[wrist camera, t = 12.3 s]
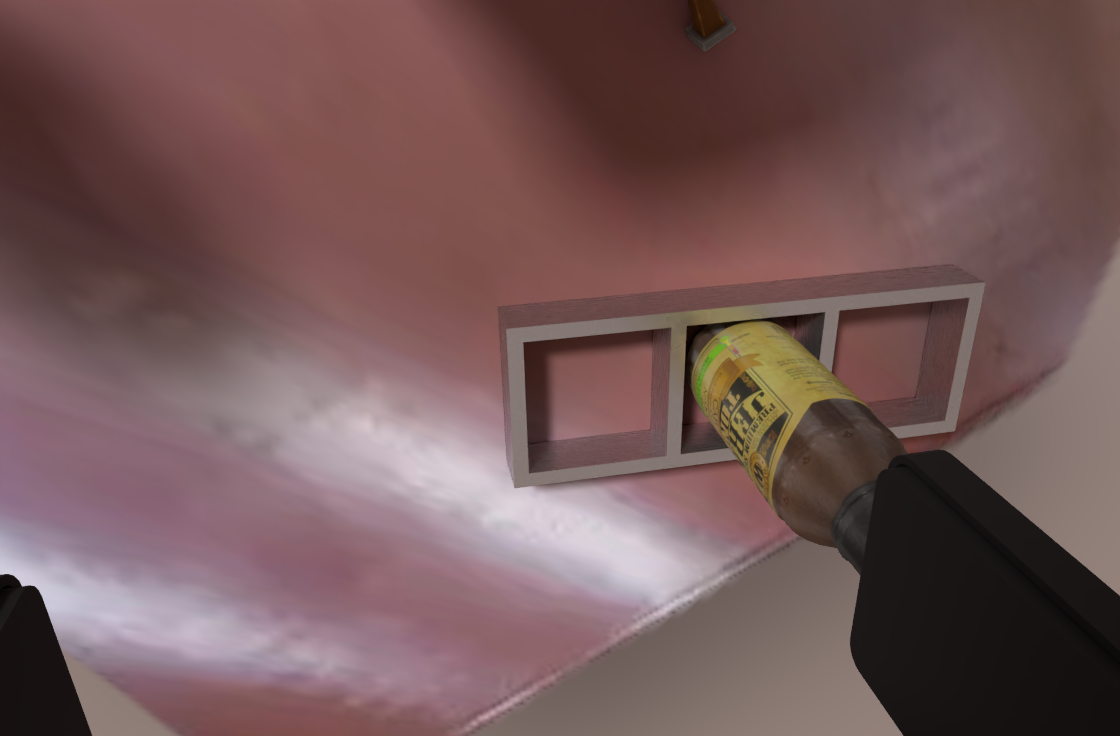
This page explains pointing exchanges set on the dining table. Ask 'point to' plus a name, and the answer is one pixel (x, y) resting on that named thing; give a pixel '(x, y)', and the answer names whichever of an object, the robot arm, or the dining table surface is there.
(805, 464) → the sauce bottle
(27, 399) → the dining table surface
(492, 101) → the dining table surface
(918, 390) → the rack with square compartments
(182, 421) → the dining table surface
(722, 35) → the wooden post with brackets
